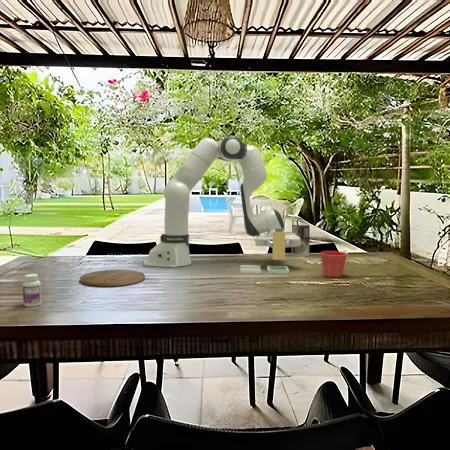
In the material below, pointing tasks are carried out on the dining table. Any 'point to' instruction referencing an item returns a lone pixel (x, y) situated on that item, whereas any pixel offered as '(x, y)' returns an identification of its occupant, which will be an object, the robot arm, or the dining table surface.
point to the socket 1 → (250, 269)
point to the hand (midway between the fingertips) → (278, 244)
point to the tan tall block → (279, 244)
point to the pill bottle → (32, 291)
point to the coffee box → (304, 236)
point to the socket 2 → (278, 269)
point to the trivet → (112, 278)
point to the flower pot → (333, 263)
